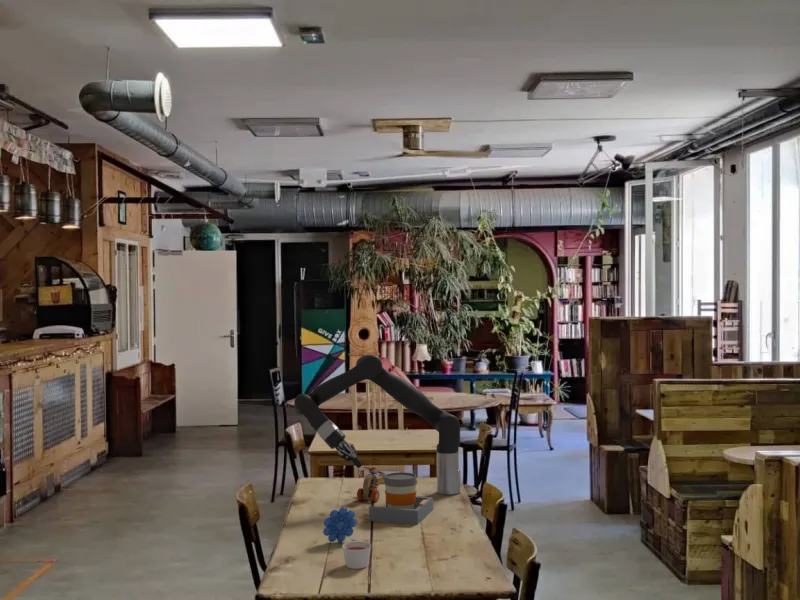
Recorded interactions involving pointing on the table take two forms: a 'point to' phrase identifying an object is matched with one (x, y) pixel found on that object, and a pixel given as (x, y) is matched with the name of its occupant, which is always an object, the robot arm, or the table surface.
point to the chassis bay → (403, 512)
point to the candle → (356, 554)
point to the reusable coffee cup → (400, 490)
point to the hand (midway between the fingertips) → (360, 466)
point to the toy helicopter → (371, 485)
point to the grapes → (339, 524)
